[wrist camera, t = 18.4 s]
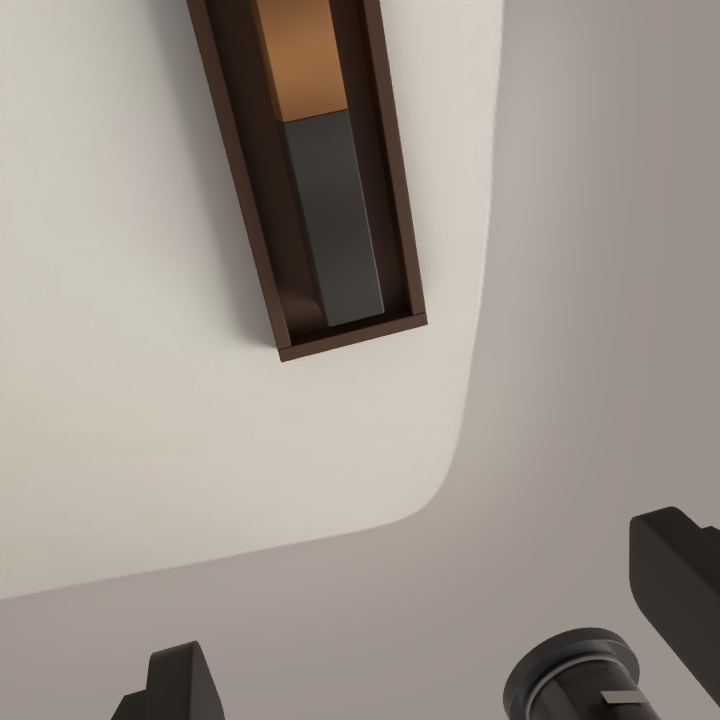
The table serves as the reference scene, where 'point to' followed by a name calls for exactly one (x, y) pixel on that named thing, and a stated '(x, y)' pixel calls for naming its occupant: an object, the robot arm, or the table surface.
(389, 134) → the tool tray
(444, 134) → the table surface
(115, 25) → the table surface
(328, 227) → the whetstone
